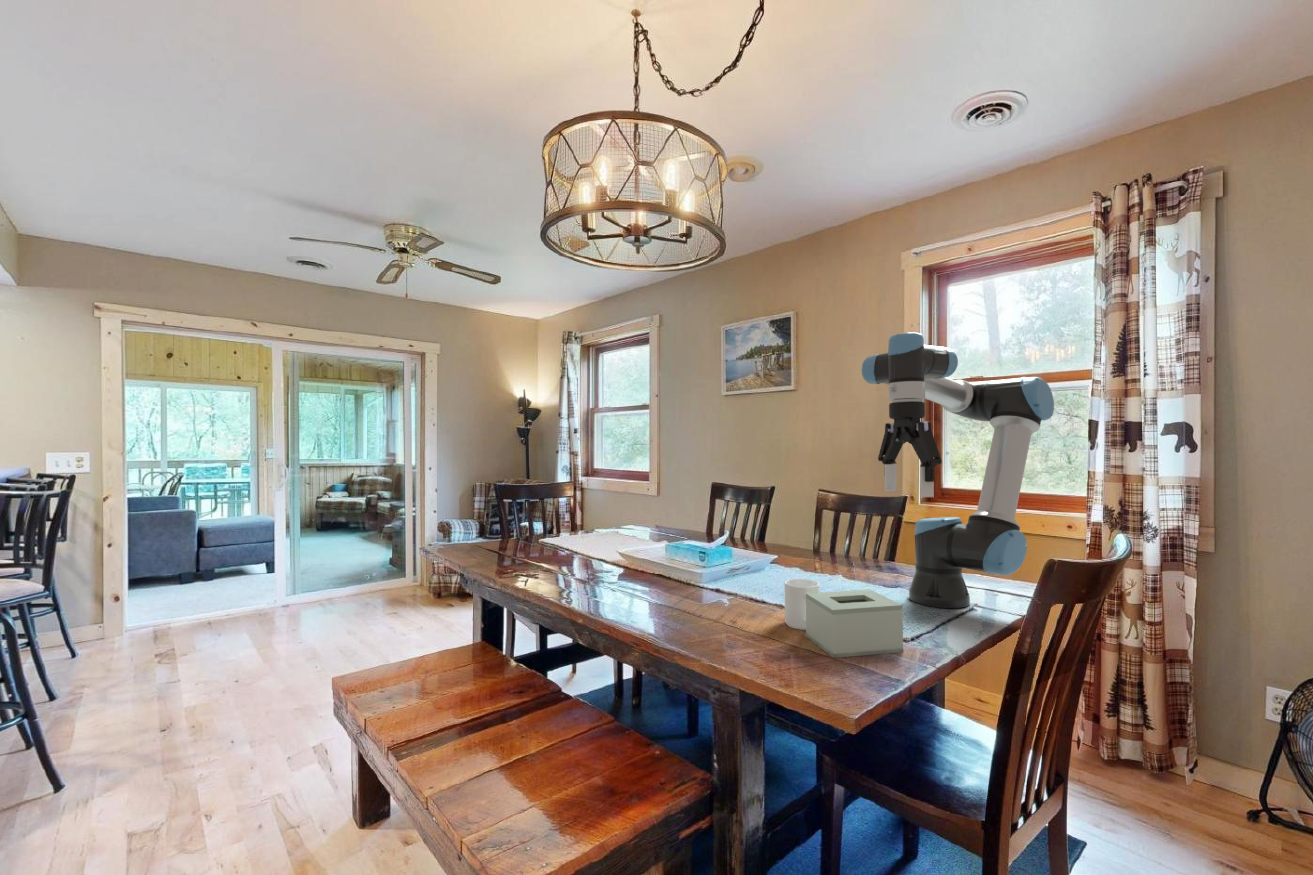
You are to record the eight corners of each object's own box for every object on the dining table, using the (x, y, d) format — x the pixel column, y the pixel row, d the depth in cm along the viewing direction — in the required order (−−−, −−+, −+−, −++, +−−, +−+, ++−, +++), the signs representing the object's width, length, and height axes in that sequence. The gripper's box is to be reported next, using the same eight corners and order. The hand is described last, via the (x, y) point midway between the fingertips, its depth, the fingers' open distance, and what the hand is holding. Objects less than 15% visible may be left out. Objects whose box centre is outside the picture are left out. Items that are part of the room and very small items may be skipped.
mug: (829, 635, 131) (828, 591, 131) (793, 636, 131) (792, 591, 131) (814, 619, 143) (813, 578, 143) (781, 619, 143) (781, 578, 143)
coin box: (870, 631, 133) (869, 589, 133) (903, 652, 120) (902, 605, 121) (806, 636, 131) (805, 593, 131) (833, 658, 118) (832, 610, 118)
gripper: (862, 404, 141) (863, 489, 141) (926, 397, 117) (928, 500, 117) (890, 404, 143) (891, 488, 143) (959, 397, 118) (960, 499, 118)
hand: (907, 494), depth 130 cm, fingers open, 13 cm apart
